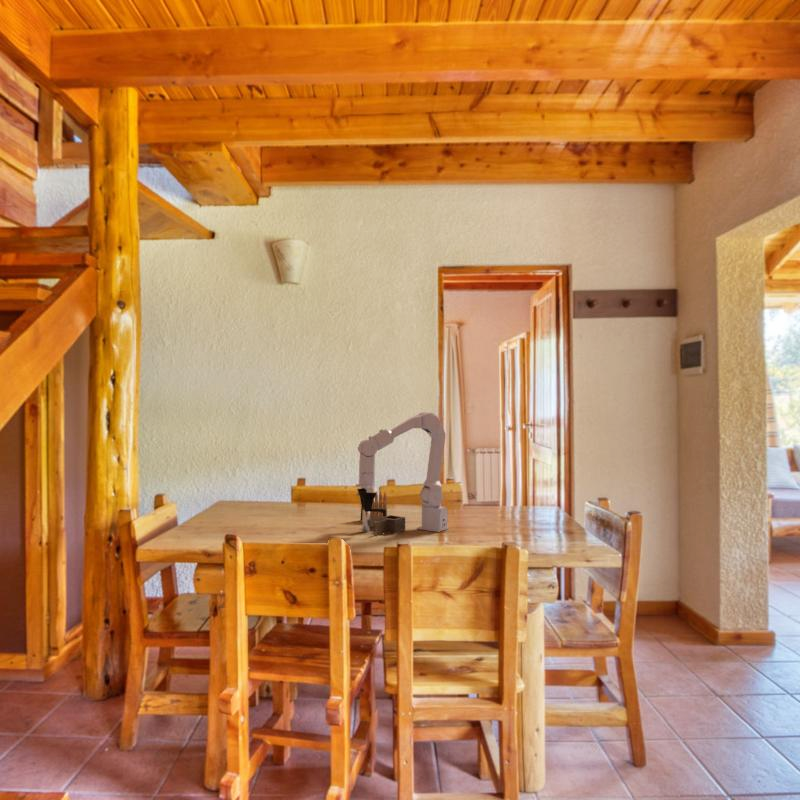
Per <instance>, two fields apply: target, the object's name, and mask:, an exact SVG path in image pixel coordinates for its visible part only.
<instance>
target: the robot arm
mask: <svg viewBox="0 0 800 800" xmlns="http://www.w3.org/2000/svg"><path fill="white" fill-rule="evenodd" d="M413 429H421V430H423V431H424V432H426V433H427V435H428V436H429V437H430V438H431V441H430V448H429V454H428V455H429V456H428V465H427V471H426V479H425V481H424V482H423V486H422V488H421V490H420V494H419V496H420V499H421V501H422V503H421V525H420V526H417V527H416V529H417V530H423V531H427V532H428V531H429V532H437V533H439V532H442V531H446V530H448V529H449V526H448V521H449V520H448V510H447V509H448V508H446V507H445V506H442V502H443V500H444V495H443V491H442V490H443V486H442V484H441V476H442V470H443V469H442V468H443V459H444V453H445V452H444V451H445V444H446V443H445V442H446V432H445V429H444V427H443V424H442V419H441V418H440V417H439V416H438V415H437V414H436V413H433V412H421V413H418V414H415V415H413V416H411V417H410V418H408V419H406V420H405V421H404V422H401V423H400V424H398V425H397V426H394V427H393V428H391V429H386V428H385V429H383V428H382V429H379V430H378V431H379V432H377V433H376V434H374V435H372V436H368V439H363V440H362V441H360V442H359V444H358V447H357V450H358V452H359V463H358V465H359V466H358V467H359V469H358V483H356V484H355V487H356V488H357V491H358V495H359V498H360V499H359V500H360V505H361V506H362V508H364V510H365V512H370V511H371V509H372V504H373V500H374V501H375V496H376V491H374V492H373V490H374V488H375V487H376V483H375V476H376V466H375V464H376V460H375V456H376V454H377V451H380V450H382V449H383V448H385V447H387V446H389V445H391V444H393V443H394V440H395V438H397V437H399V436H401V435H402V434H404V433H407V432H408V431H410V430H413Z"/></svg>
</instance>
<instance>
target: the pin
mask: <svg viewBox="0 0 800 800" xmlns="http://www.w3.org/2000/svg"><path fill="white" fill-rule="evenodd" d="M361 523H362V524H361V525H362V526H361V527H362V528H361V532H362V533H365V532H368V533H370V532H369V531H371V528H370V512H365V510H363V516H362V521H361Z"/></svg>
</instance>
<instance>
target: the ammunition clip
mask: <svg viewBox="0 0 800 800" xmlns="http://www.w3.org/2000/svg"><path fill="white" fill-rule="evenodd" d="M375 492H376V496H375V498H374V500H373V504H372V509H371V511H370V515H377V516H384V517H385V516H388V507H387V506H388V501H387V492H386V491H384V492H383V493H382V491H380V492H379V496H378V492H377V490H376V491H375ZM363 510H364V508H362V506H361V509H360V520H362V516H363Z"/></svg>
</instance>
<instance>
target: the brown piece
mask: <svg viewBox="0 0 800 800" xmlns="http://www.w3.org/2000/svg"><path fill="white" fill-rule="evenodd" d="M370 527H372V528H371V529H375V531H374V535H379V536H381V535H380V534H382V535H384V534H383V533H385V534H388V533H387V532H390V533H389V534H393V533H396V534H399V533H402V532H405V531H406V516H400V515H399V516H398V515H393V514H388V515H387V516H385V517H384V516H383V515H382V516H377V515H370ZM401 531H402V532H401ZM398 532H399V533H398Z"/></svg>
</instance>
